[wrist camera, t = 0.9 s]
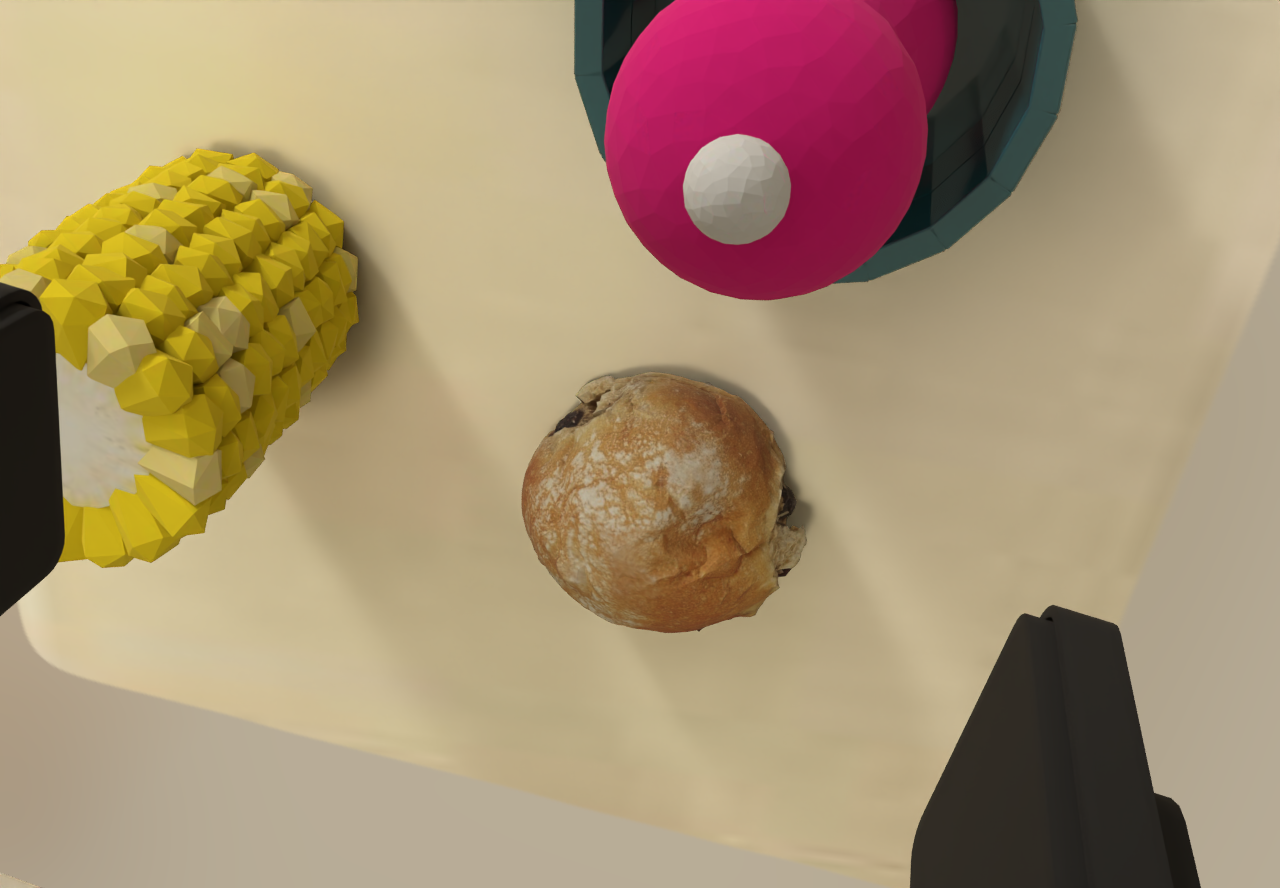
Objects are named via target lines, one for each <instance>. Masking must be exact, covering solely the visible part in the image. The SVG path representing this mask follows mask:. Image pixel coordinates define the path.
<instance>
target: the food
mask: <svg viewBox="0 0 1280 888" xmlns="http://www.w3.org/2000/svg"><path fill="white" fill-rule="evenodd" d="M312 190H313V188H312V187H310V186H309V185H307V184H306V183H305V182H303V181H302V180H300V179H299V178H298V177H296V176H295V175H293V174H290V173H285V172H281V171H279V169H277V168H276V167H274V166H273V165H271V164H270V163H268V162H267V161H266V160H264V159H263V158H261V157H260V156H258V155H257V154H255V153H251V154H248V155H245V156H242V157H239V158H236V159H234V157H233V154H228V153H222V152H215V151H209V150H203V149H196V150H195V152H194V153H193V154H192V156H191V157H190V158H188V159H186V158H185V157H183V156H181V157H180V158H178V159H176V160H174V161H172V162H170V163H168V164H166V165H164V166H163V167H159V166H149V167H148V168H147V169H146V170H145V171H144V172H143V173H142V174H141V175H140V177H139V178H138V179H137V180H136V181H134V182H133V183H132V184H130V185H127V186H124V187H121V188H119V189H116V190H113V191H111V192H110V193H106V194H105V195H104V196H103V197H101V198H100V199H99V200H98V201H96V202H95V203H94V204H93V205H92V204H88V205H86V206H84V207H83V208H81V209H80V210H78V211H77V212H75V213H74V214H72V215H71V216H66V218H65V219H64V220H63V221H62V223H61V224H60V225H59V226H58V228H57V229H56V230H42V231H40V232H39V233H38V234H37V235H35V236H34V237H33V238H32V239H31V240H29V241H28V246H27V247H25V248H23V249H21V250H19V251H17V252H15V253H13V254H11V255H9V256H8V260H7V263H6V264H0V282H2V283H5V284H8V285H11V286H15V287H18V288H21V289H24V290H28V291H30V292H31V293H33V294H34V295H35V296H37V298H38V300H39V302H40V304H41V306H42V311H44V312H46V313H47V314H48V315H50V317H51V319H52V321H53V325H54V330H55V350H56V369H57V389H58V408H59V428H60V447H61V467H62V486H63V505H64V525H65V544H64V548H63V552H62V554H61V557H60V559H59V561H58V562H65V561H74V560H83V559H89V560H90V561H92V562H94V563H95V564H97V565H98V566H100V567H102V568H107V567H122V566H125V565H126V564H128V563H129V562H130V561H131V560H132V559H133V558H137V559H140V560H143V561H147V562H150V563H152V562H153V561H155V560H156V559H158V558H159V557H161V556H162V555H164V554H165V553H166V552H168V551H169V550H171V549H172V548H174V547H175V546H177V545H178V544H179V542H180V539H181V538H183V537H184V536H186V535H193V534H200V533H204V532H205V527H206V523H207V518H208V515H210V514H213V513H216V512H218V511H221V510H224V509H225V504H226V499H227V500H229V499H230V498H231V497H232V495H233V494H234V493H235V492H236V491H237V489H238V488H239V487H240V486H241V485H242V483H243V482H244V481H245V480H246V479H247V478H250V477H251V475H252V474H253V473H254V472H255V471H256V469H257V468H258V467H259V466H260V465H261V463H262V462H263V461H264V460H265V457H264V455H265V452H266V449H267V447H268V445H271V444H272V443H273V442H275V441H276V440H277V439H278V438H280V437H281V436H282V432H283V429H287V428H288V427H289V426H291V425H292V424H293V423H295V422H296V421H297V420H298V419H299V408H301V407H302V406H304V405H305V404H307V403H309V402H310V399H311V392H312V391H313V390H314V389H315V388H316V387H317V386H318V385H319V384H320V383H321V382H322V381H323V380H324V379H325V378H326V377H327V376H328V373H327V370H329V369H330V368H331V366H332V365H333V363H334V362H335V360H336V359H337V357H338V356H339V355H341V354H342V353H343V352H345V351H346V340H347V332H348V331H349V329H350V328H351V326H352V325H354V324H356V323H358V322H359V317H358V308H357V299H356V296H355V294H354V293H353V291H356V287H357V268H358V258H357V257H356V256H354V255H352V254H351V253H349V252H347V251H345V250H343V249H342V246H343V230H344V221H343V220H341V219H340V218H339V217H338V216H336V215H335V214H334V213H333V212H331V211H330V210H328V209H327V208H326V207H324V206H323V205H321V204H320V203H319V202H317V201H316V200H314V201H313V202H312V203H311V201H312Z"/></svg>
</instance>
